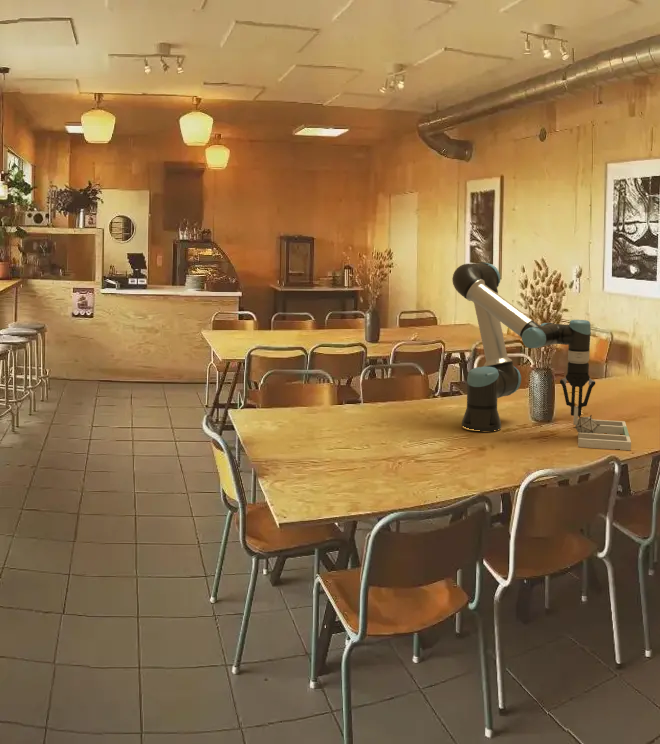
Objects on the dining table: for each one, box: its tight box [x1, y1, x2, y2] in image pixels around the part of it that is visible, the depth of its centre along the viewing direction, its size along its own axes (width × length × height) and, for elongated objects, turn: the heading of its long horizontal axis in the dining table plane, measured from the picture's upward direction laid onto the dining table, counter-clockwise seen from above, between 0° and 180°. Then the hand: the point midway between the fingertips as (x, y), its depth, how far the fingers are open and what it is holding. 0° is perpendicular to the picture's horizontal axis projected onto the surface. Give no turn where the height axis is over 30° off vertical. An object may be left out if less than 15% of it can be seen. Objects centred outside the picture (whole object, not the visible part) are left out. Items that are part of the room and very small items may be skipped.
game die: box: [572, 414, 600, 434], centre depth 305 cm, size 9×8×10 cm
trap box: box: [576, 418, 632, 451], centre depth 304 cm, size 18×32×3 cm, turn 164°
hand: (575, 424), depth 306 cm, fingers closed
